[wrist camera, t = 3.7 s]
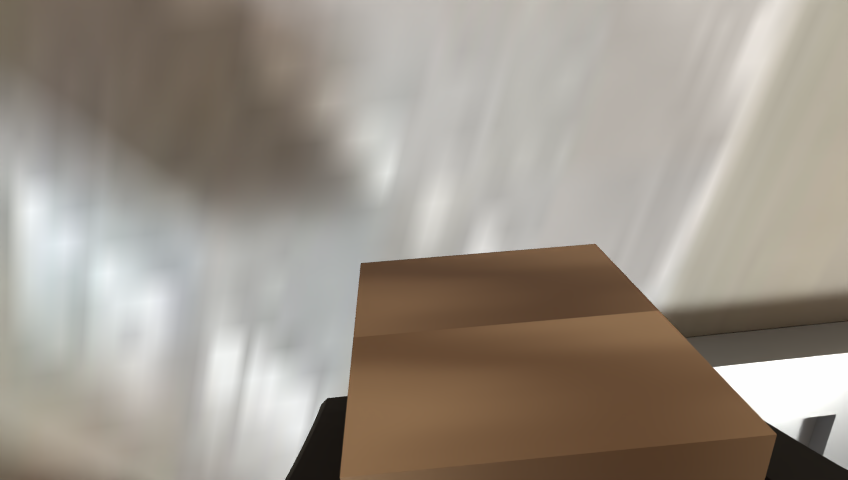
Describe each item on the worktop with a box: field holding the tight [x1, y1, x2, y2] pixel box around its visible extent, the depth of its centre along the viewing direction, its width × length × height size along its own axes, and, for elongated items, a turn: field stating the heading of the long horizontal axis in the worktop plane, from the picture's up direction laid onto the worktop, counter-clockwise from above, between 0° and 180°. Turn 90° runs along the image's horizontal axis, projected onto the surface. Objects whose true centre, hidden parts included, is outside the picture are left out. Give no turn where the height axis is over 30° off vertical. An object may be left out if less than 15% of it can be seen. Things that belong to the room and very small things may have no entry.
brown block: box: [340, 244, 777, 480], centre depth 8 cm, size 4×4×5 cm
